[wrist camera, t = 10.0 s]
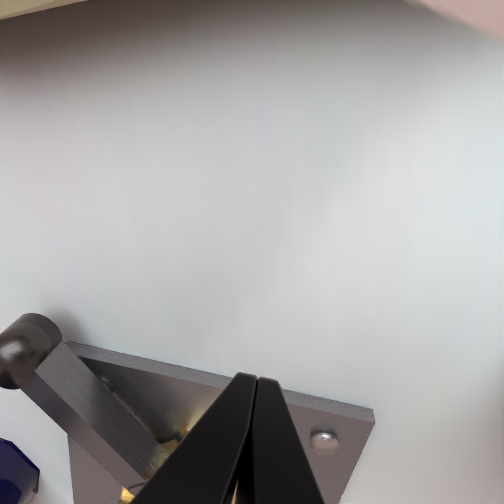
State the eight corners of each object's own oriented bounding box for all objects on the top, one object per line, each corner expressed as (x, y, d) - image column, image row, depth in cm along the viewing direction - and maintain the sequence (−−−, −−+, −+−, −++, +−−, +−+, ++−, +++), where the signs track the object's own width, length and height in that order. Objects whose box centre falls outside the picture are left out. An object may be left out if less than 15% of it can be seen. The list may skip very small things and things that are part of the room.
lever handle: (85, 276, 20) (45, 313, 17) (289, 513, 27) (287, 571, 24) (-22, 339, 23) (-72, 380, 20) (184, 537, 30) (170, 591, 27)
